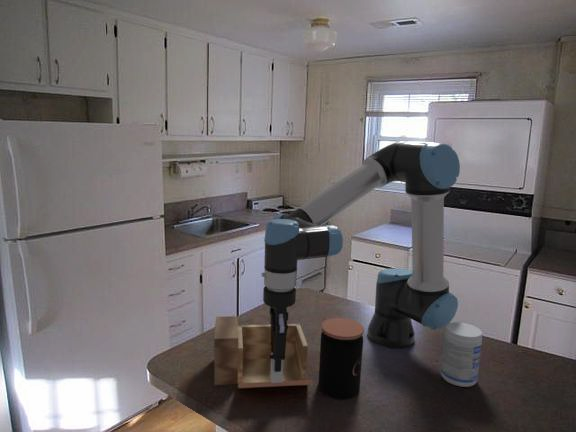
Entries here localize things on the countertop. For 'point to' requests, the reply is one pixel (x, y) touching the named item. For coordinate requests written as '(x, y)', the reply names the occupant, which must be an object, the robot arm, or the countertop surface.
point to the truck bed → (254, 353)
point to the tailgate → (275, 384)
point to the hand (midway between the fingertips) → (276, 380)
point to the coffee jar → (340, 358)
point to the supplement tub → (461, 354)
